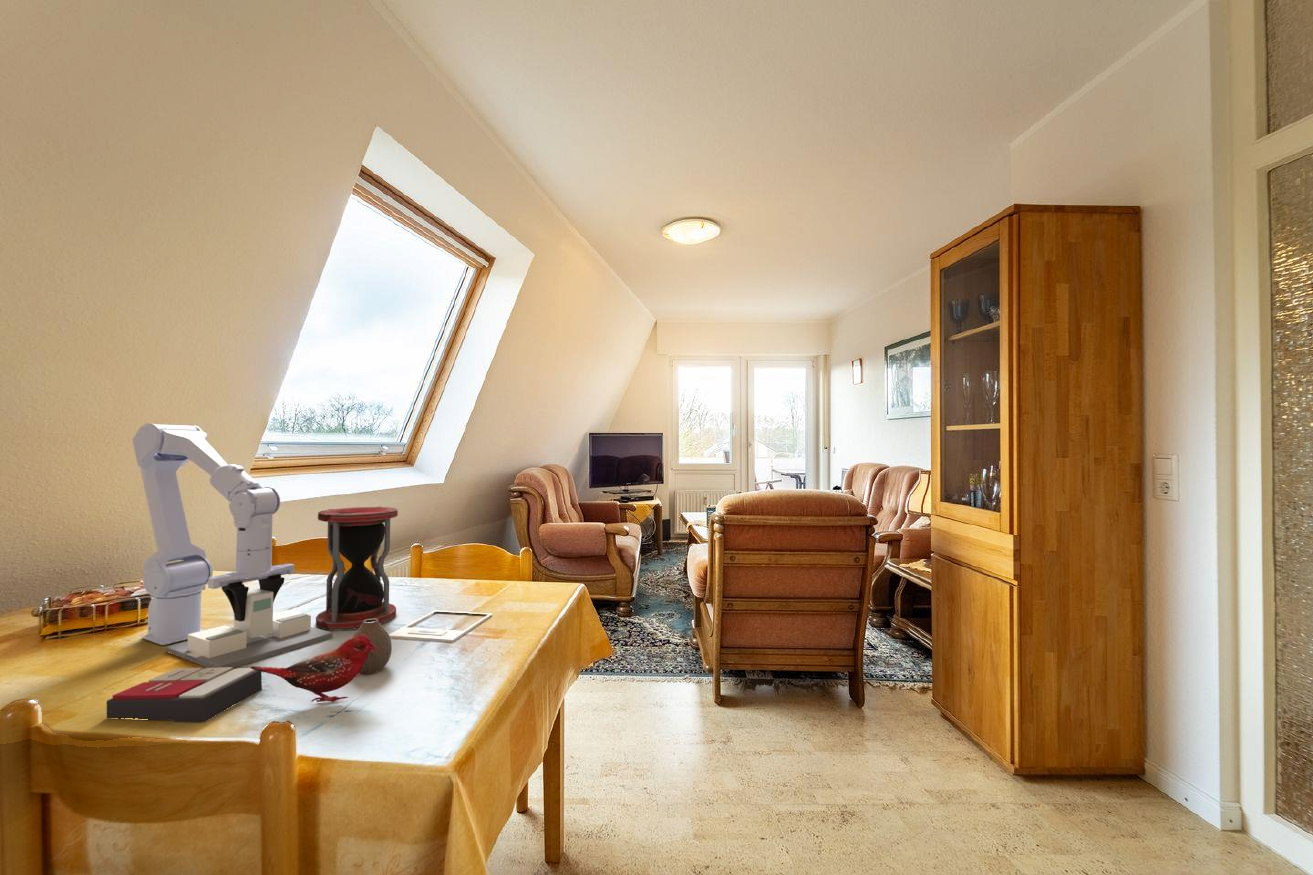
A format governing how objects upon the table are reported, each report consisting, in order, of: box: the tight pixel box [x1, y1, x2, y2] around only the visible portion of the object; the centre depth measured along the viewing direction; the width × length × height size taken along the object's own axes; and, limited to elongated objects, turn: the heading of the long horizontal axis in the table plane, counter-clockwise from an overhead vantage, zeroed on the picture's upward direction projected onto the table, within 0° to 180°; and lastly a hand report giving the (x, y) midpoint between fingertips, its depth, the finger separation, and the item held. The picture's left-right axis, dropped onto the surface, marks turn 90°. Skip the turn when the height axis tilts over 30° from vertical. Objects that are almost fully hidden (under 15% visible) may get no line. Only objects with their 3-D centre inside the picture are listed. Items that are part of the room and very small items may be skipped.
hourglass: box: [315, 506, 399, 631], centre depth 125 cm, size 16×16×25 cm
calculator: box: [106, 667, 263, 724], centre depth 84 cm, size 11×4×15 cm
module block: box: [233, 588, 274, 638], centre depth 109 cm, size 6×4×8 cm, turn 62°
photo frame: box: [388, 609, 493, 643], centre depth 121 cm, size 15×1×18 cm
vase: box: [352, 619, 392, 676], centre depth 96 cm, size 7×7×9 cm
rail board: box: [165, 609, 334, 669], centre depth 109 cm, size 20×20×4 cm
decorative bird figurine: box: [249, 635, 377, 703], centre depth 84 cm, size 3×18×10 cm, turn 102°
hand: (252, 617), depth 109 cm, fingers closed on module block, 4 cm apart
